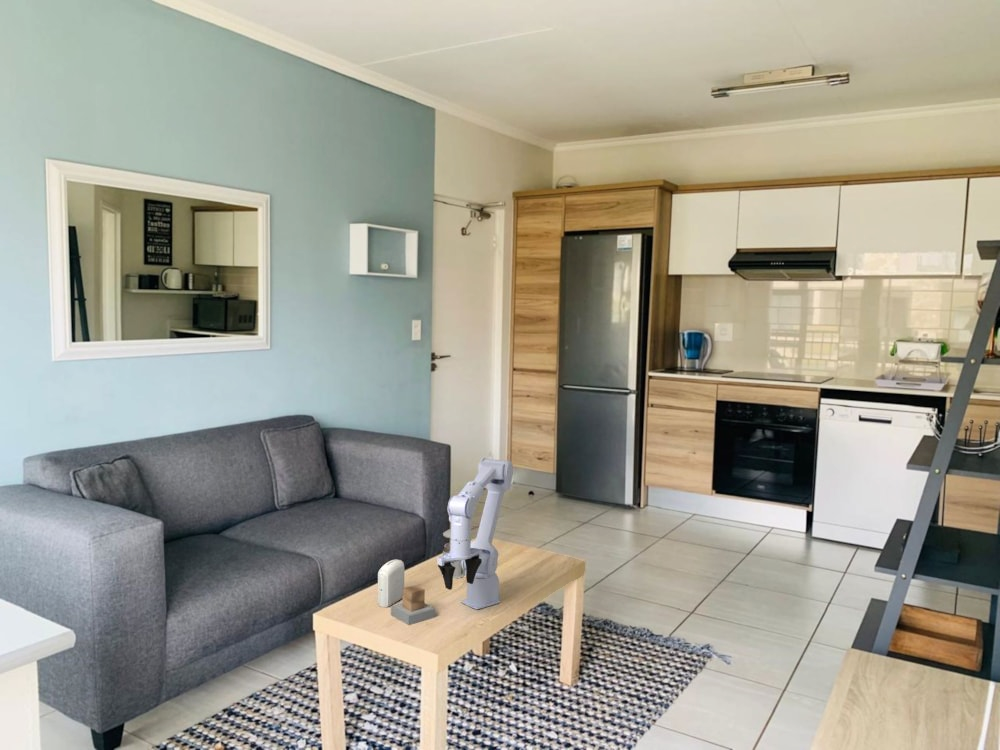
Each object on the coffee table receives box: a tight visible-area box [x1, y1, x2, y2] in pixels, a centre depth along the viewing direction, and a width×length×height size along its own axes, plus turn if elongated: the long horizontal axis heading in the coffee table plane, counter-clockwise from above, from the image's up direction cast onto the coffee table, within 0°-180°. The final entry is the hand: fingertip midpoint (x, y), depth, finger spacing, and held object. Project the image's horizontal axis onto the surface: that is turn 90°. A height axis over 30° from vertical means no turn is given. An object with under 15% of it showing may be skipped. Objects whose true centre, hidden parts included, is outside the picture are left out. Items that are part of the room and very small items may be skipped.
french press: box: [441, 528, 466, 578], centre depth 247 cm, size 10×12×25 cm
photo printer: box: [377, 558, 405, 608], centre depth 222 cm, size 10×4×12 cm, turn 156°
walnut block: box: [402, 584, 426, 612], centre depth 212 cm, size 4×4×6 cm
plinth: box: [390, 602, 436, 626], centre depth 212 cm, size 9×9×2 cm
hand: (459, 585), depth 210 cm, fingers open, 7 cm apart
